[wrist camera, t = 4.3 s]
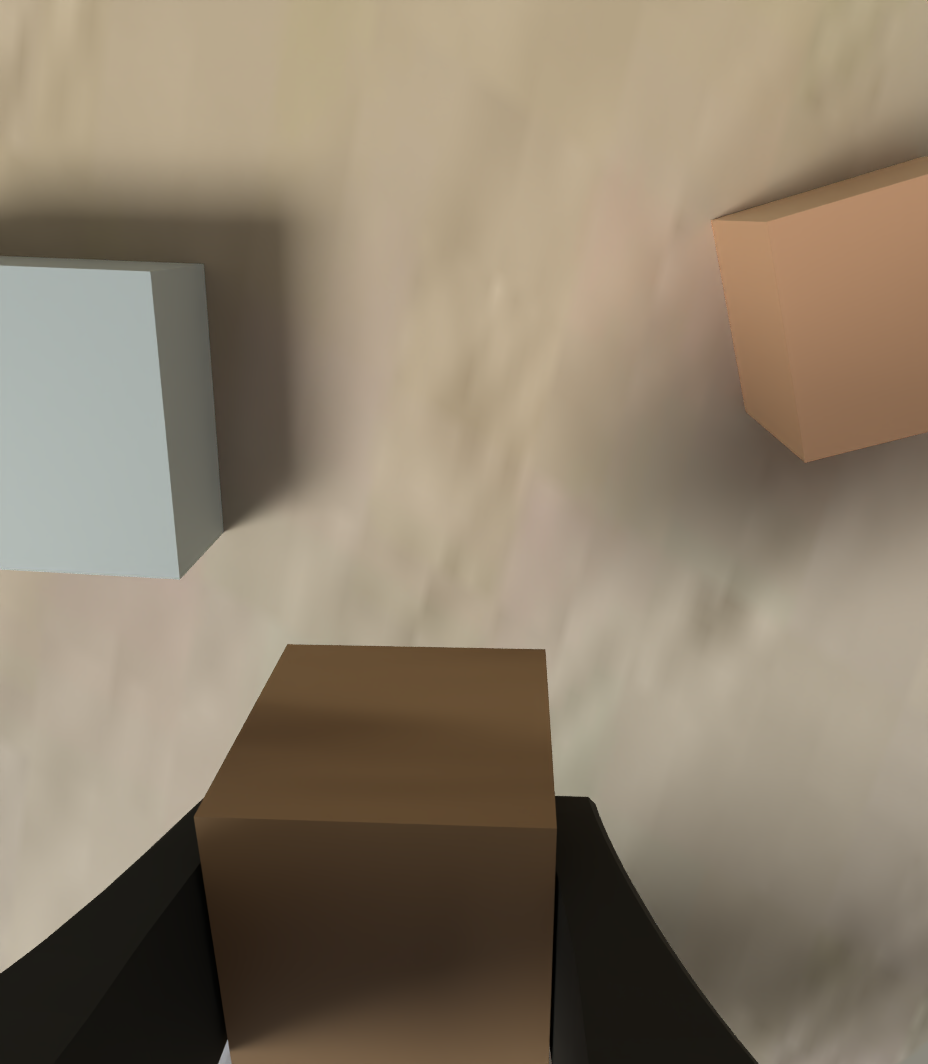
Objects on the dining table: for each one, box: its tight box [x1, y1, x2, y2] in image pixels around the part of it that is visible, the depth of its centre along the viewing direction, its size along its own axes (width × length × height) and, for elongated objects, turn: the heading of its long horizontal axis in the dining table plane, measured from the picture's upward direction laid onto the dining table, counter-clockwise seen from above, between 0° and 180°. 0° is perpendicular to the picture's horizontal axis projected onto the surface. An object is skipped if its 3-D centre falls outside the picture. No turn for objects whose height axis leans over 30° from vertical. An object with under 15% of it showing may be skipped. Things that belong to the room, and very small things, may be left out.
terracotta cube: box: [711, 156, 928, 463], centre depth 15 cm, size 4×4×4 cm
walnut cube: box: [194, 644, 557, 1064], centre depth 12 cm, size 4×4×4 cm
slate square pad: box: [0, 256, 224, 579], centre depth 17 cm, size 6×6×3 cm
